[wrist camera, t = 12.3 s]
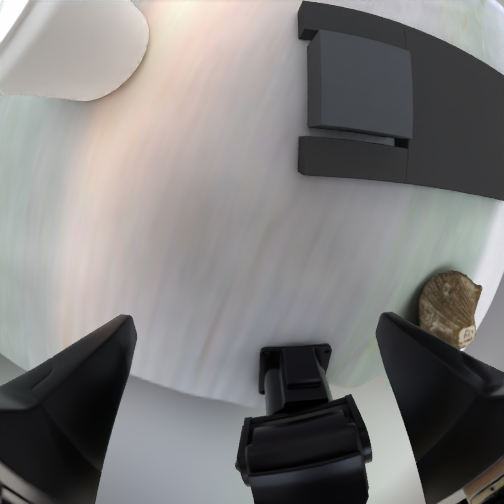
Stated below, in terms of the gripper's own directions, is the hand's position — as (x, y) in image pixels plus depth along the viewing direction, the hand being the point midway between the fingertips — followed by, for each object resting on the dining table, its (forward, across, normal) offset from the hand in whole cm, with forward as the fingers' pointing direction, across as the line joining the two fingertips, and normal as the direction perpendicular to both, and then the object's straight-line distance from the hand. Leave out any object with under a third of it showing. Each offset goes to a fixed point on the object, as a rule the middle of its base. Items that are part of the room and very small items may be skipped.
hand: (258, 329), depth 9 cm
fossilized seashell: (+11, -18, +8) cm, 23 cm away
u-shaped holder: (+11, -14, -10) cm, 20 cm away
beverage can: (+11, +11, -14) cm, 21 cm away
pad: (+11, -7, -10) cm, 16 cm away
